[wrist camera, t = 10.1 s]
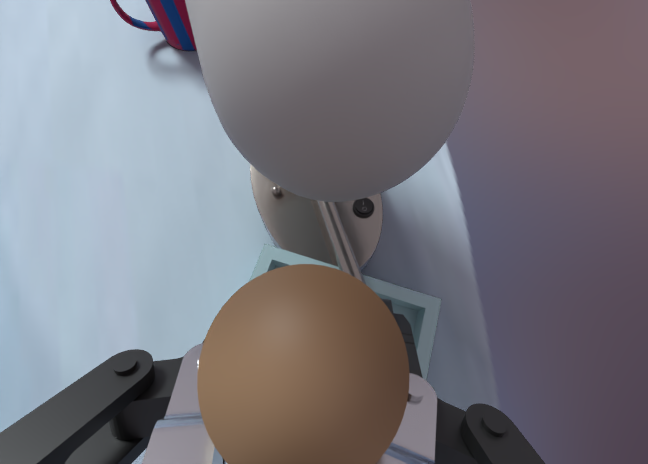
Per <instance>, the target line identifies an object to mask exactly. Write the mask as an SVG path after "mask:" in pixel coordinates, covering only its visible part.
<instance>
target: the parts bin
mask: <svg viewBox="0 0 648 464" xmlns="http://www.w3.org/2000/svg"><path fill="white" fill-rule="evenodd" d="M296 264H315V265H323V266H328V267H331V268H335V269H338V270H339V267H337V266H334V265H331V264H328V263H325V262H321V261H318V260H315V259H312V258H309V257H305V256H302V255H299V254H296V253H293V252H289V251H286V250H283V249H280V248H277V247H274V246H270V245H267V244H264V246H263V249H262V251H261V254H260V256H259V259H258V261H257V264H256V266H255V268H254V271H253V273H252V276H251V278H250V281H251V280H252V279H254V278H256V277H258V276H260V275H262V274H263V273H266V272H268V271H271V270H273V269H276V268H280V267H284V266H288V265H296ZM362 275H363V274H362ZM363 277H364V280H365V283H366V285H367V286H368V287H369V288H371V289H372V290H373V291H374V292H375V293H376V294H377V295H378V296H379V297H380V298H382V299H389V300H391V302H392V308H393V313H396V314H403V315H404V316H405V318H406V319H407V320H408V322H409V323H410V324H411V329H412V333H413V337H414V342H415V346H416V351H417V355H418V359H419V364H420V368H421V373H422V377H423V379H425V380H427V374H428V369H429V364H430V359H431V353H432V348H433V343H434V337H435V332H436V327H437V322H438V316H439V311H440V306H441V300H442V299H439V298H436V297H433V296H430V295H427V294H423V293H420V292H417V291H414V290H411V289H408V288H404V287H401V286H398V285H395V284H392V283H388V282H385V281H382V280H379V279H376V278H372V277H369V276H366V275H363ZM250 281H249V282H250Z"/></svg>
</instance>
